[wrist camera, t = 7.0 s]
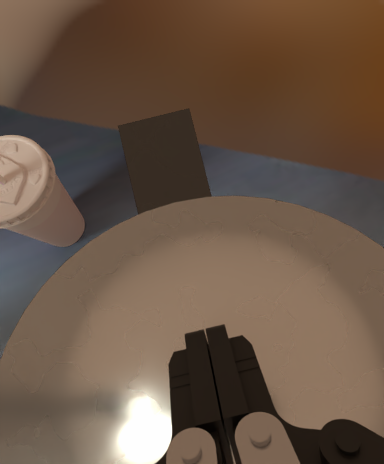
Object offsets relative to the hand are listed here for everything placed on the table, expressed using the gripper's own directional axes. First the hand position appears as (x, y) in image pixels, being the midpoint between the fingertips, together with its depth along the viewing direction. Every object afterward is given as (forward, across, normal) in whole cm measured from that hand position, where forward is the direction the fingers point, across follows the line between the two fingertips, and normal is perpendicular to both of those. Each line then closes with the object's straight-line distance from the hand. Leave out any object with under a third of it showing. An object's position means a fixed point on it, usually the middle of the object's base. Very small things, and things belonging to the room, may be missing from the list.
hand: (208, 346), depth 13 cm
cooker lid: (+1, 0, +3) cm, 3 cm away
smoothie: (+20, +11, +2) cm, 23 cm away
